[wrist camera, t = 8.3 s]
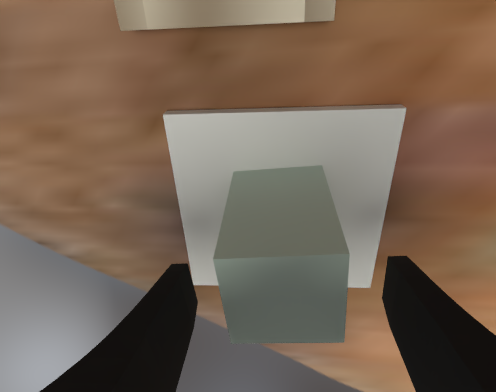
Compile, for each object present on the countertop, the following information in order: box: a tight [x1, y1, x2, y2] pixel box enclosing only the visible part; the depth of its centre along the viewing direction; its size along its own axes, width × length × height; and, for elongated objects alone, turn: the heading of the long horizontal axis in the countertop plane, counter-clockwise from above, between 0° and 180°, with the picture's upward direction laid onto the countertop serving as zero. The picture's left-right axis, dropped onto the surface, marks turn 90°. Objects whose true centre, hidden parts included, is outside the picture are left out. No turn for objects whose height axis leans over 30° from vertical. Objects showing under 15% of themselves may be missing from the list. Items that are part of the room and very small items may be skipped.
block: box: [213, 165, 350, 344], centre depth 13 cm, size 4×4×6 cm
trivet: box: [163, 104, 406, 288], centre depth 16 cm, size 10×10×1 cm
